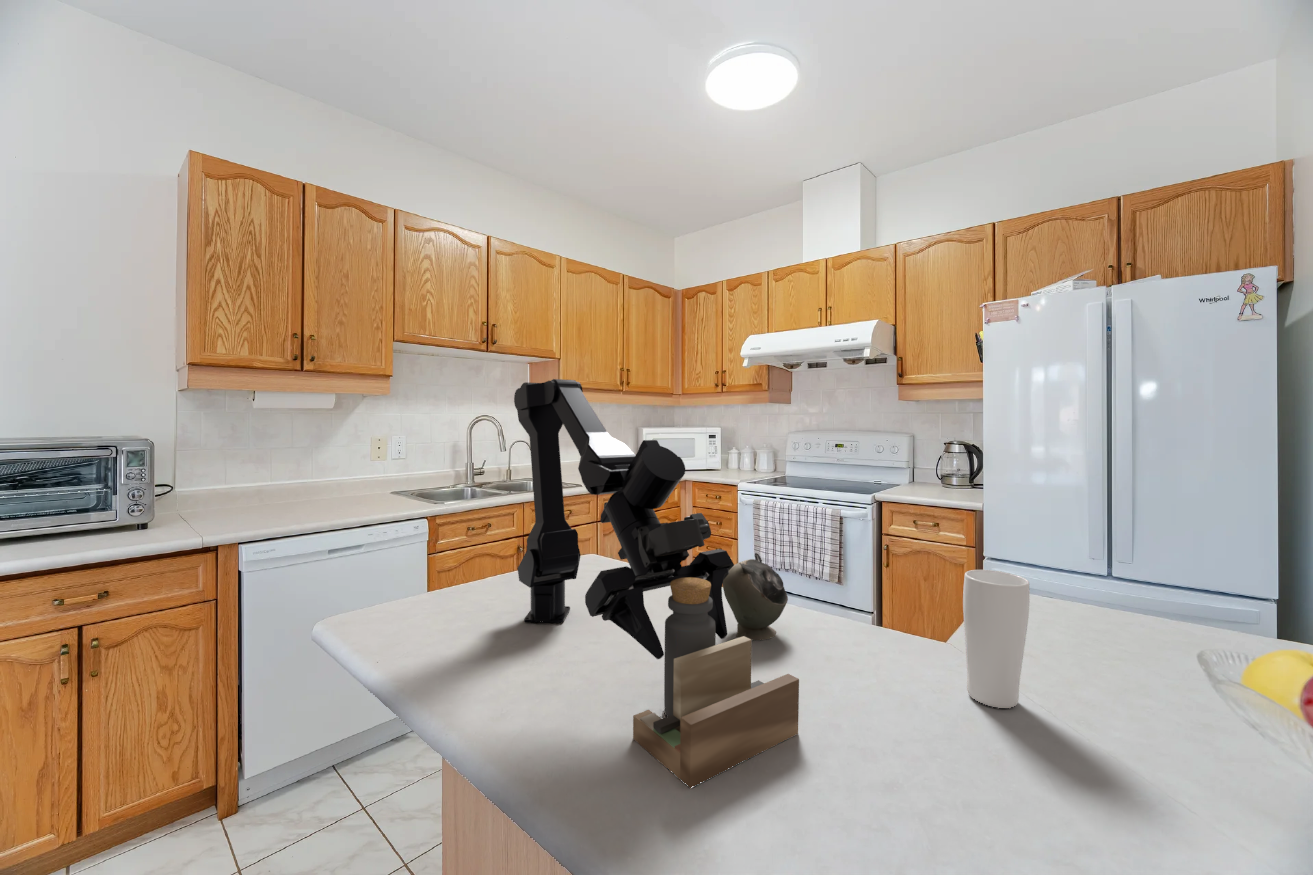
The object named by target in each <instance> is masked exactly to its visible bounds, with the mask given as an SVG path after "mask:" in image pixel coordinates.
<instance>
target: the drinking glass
mask: <svg viewBox="0 0 1313 875" xmlns="http://www.w3.org/2000/svg"><path fill="white" fill-rule="evenodd" d="M962 589H963V592H962V611H963V612H962V615H963V628H964V641H965V642H964V644H965V656H966V657H965V659H966V660H965V661H966V691H967V693H968V695H969V696H970V698H972V699H973V700H974V699H975V700H974V701H976V702H977V701H978V702H977V703H979V702H980V703H979V704H981V703H983V704H982V705H984V704H985V705H984V706H986V705H989V706H993V707H998V708H997V709H999V708H1009V709H1012V708H1011V707H1013V708H1015V707H1016V706H1017V705H1018V704H1019V701H1020V698H1019V697H1020V682H1021V676H1022V670H1023V663H1024V662H1023V660H1024V655H1025V654H1024V653H1025V646H1026V639H1027V634H1028V633H1027V632H1028V625H1029V619H1030V617H1029V616H1030V600H1031V599H1030V598H1031V597H1030V596H1031V595H1030V593H1031V592H1030V581H1029V580H1027V578H1025V577H1023V576H1021V575H1017V574H1014V573H1010V572H1005V571H999V570H991V569H972V570H968V571H965V573H964V579H963V588H962ZM989 706H988V707H989ZM1014 706H1015V707H1014ZM993 707H992V708H993Z"/></svg>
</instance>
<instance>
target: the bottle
mask: <svg viewBox="0 0 1313 875" xmlns="http://www.w3.org/2000/svg"><path fill="white" fill-rule="evenodd" d="M669 588H670V591H671V595H670V596H669V597H668V599H667V600H668V602H667V607H668V609H669V610H670V611H672V614H670V615H669V616H667V617H666V618H665V621H664V664H663V665H664V672H663V673H664V675H663V676H664V679H663V680H664V684H663V686H664V687H663V688H664V689H663V690H664V694H663V697H664V699H663V700H664V708H663V709H664V714H665V716H666V717H668V716H670V715H673V687H674V659H675V658H678V657H681V656H684V655H687V654H690V653H693V652H696V651H699V650H703V649H706V648H709V647H712V646H715V645H717V642H716V641H717V640H716V639H717V638H716V636H717V634H716V625H715V621H714V619H713V618H712V617H711V616H709V615H708V612H709V611H710V610H711V609H712V607H713V600H712V598H711V597H710V596H709V594H710V589H711V583H710V582H709V581H707V580H704V579H700V578H679V579H675V580H673V581H671V582H670V586H669Z"/></svg>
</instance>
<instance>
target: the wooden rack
mask: <svg viewBox="0 0 1313 875" xmlns="http://www.w3.org/2000/svg"><path fill="white" fill-rule="evenodd" d="M763 683H764V684H762V685H759V686H757V687H754V688H752V689H749V690H747V691H744V692H742V693H739V694H737V695H735V696H732V697H730V698H727V699H725V700H722V701H720V702H717V703H715V704H712V705H710V706H707V707H705V708H703V709H700V710H698V711H695V712H693V713H690V714H688V715H685V716H683V717H681V733H680V732H679V731H677V730H676V729H675V728H673V729H671V730H668V731H666V732H664V733H661V734H660V733H659V732H658V731H656V730H655V729H654V728H653V722H655V721H658V720H660V719H663V717H662V718H661V716H660V715H658V714H656V713H655V712H653V711H652V710H650V709H646V710H643V711H642V712H639V713H636V714H634V715H633V716H632V717H633V718H632V719H633V720H632V726H633V727H632V739H633V740H634V741H635V742H637V743H638V744H639V746H641V747H642V748H643V749H644V750H646V752H647V753H649V754H650V755H651V756H652V757H653V758H654V759H655V760H657V761H658V762H659V763H660V764H661V765H662V766H664V767H665V768H666V769H667V768H668V769H669V770H670V771H669V770H668V769H667V770H668V771H669V772H671V771H672V772H673V773H674V774H675V775H676V776H677V777H678V778H677V777H676V776H675V775H674V774H673V773H672V772H671V773H672V774H673V775H674V776H675V777H676V778H677V779H679V780H680V779H681V780H682V781H683V782H684V783H686V784H687V785H688V786H689V787H690V788H691V787H692V786H695V785H697V784H699V785H701V784H700V782H703V781H705V782H707V781H708V780H707V779H709V778H711V777H712V778H714V777H716V776H718V775H720V774H722V773H724V772H726V771H728V770H729V769H728V768H730V769H732V768H733V767H732V766H734V767H736V766H737V765H736V764H738V763H740V762H742V761H744V760H746V761H747V760H749V759H748V758H750V759H752V758H754V757H755V756H757V755H759V754H761V753H763V752H765V751H767V750H769V749H771V748H773V747H775V746H778V745H779V744H780V742H781V743H783V742H784V740H785V741H786V740H789V739H791V738H792V737H795V736H797V735H798V734H799V711H800V710H799V709H800V708H799V706H800V705H799V704H800V699H799V698H800V689H799V688H800V679H799V678H798V677H796V676H794V675H792V674H790V673H787V674H784V675H782V676H779V677H777V678H774V679H772V680H769V681H767V682H763ZM788 738H789V739H788ZM778 743H779V744H778ZM762 751H763V752H762ZM758 753H759V754H758ZM756 754H757V755H756ZM754 755H755V756H754ZM753 756H754V757H753ZM751 757H752V758H751ZM744 762H745V761H744ZM742 763H743V762H742ZM740 764H741V763H740ZM735 765H736V766H735ZM738 765H739V764H738ZM731 767H732V768H731ZM727 769H728V770H727ZM725 770H726V771H725ZM723 771H724V772H723ZM721 772H722V773H721ZM719 773H720V774H719ZM717 774H718V775H717ZM715 775H716V776H715ZM713 776H714V777H713ZM712 778H711V779H712ZM681 780H680V781H681ZM706 780H707V781H706ZM709 780H710V779H709ZM682 781H681V782H682ZM683 782H682V783H683ZM684 783H683V784H684ZM703 783H704V782H703ZM688 786H687V787H688ZM697 786H698V785H697ZM689 787H688V788H689ZM695 787H696V786H695ZM690 788H689V789H690ZM691 789H692V788H691Z"/></svg>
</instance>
